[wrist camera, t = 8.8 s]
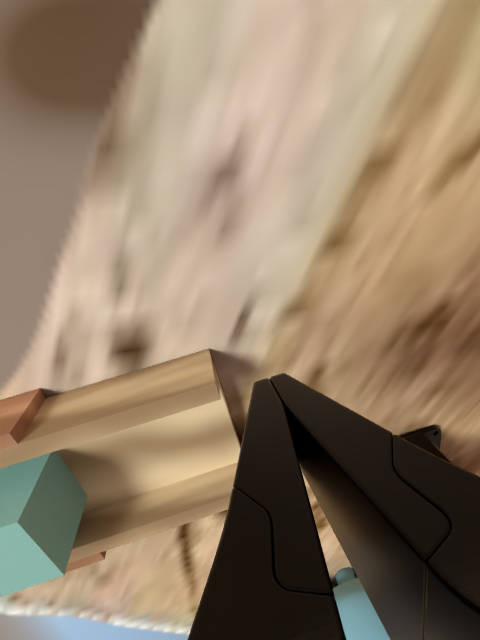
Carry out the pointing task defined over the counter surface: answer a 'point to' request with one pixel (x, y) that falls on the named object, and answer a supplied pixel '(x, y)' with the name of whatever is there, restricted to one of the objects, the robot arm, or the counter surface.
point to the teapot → (356, 609)
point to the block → (37, 521)
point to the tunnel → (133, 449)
